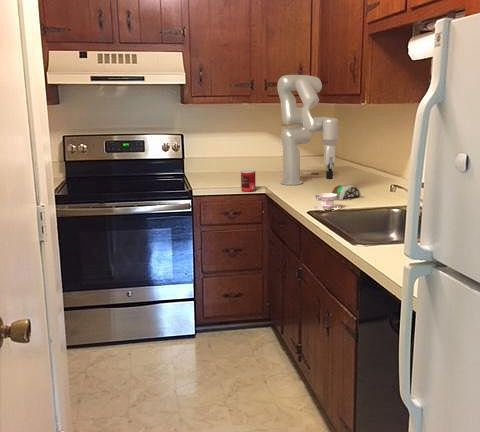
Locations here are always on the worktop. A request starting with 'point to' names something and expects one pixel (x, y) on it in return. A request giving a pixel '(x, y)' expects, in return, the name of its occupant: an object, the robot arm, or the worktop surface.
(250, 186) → the canned food
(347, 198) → the mat
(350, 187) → the food container
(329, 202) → the teacup
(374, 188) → the worktop surface
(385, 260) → the worktop surface
